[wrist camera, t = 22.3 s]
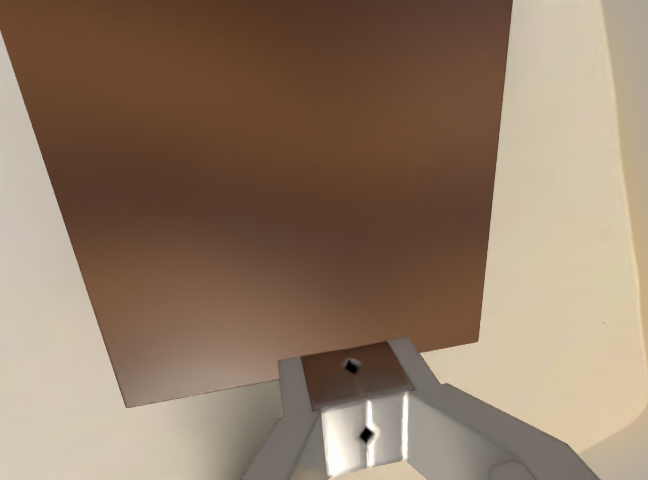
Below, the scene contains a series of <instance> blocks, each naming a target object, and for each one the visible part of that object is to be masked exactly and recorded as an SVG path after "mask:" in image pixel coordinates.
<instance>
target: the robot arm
mask: <svg viewBox="0 0 648 480" xmlns="http://www.w3.org/2000/svg"><path fill="white" fill-rule="evenodd" d="M277 366H278V374H279V382H280V389H281V397H282V405H283V413H284V418H281V419H277V420H276V422H275V424H274V425H273V427H272V429H271V430H270V432H269V434H268V435H267V437H266V439H265V441H264V442H263V444H262V446H261V447H260V449H259V451H258V452H257V454H256V456H255V457H254V459H253V461H252V463H251V464H250V466H249V468H248V469H247V471H246V473H245V474H244V476H243V478H242V480H328V479H329V478H333V477H336V476H340V475H344V474H347V473H351V472H355V471H358V470H362V469H366V468H370V467H375V466H380V465H384V464H389V463H394V462H399V461H403V460H407V462H408V463H409V464H410V465H411V466H412V467H413V468H415V469H416V470H417V471H418V472H419V473H420V474H421V475H423V476H424V477H425V478H426V479H427V480H600V479H599V478H598V477H597V475H596V474H595V473H594V472H593V471H592V470H591V469H590V468H589V467H588V466H587V465H586V464H585V462H584V461H583V460H582V459H581V458H580V457H579V456H578V455H577V454H576V453H575V452H574V451H573V449H572V448H571V447H570V446H569V445H568V444H566V443H564V442H562V441H561V440H559V439H557V438H555V437H553V436H551V435H549V434H547V433H545V432H543V431H541V430H539V429H537V428H535V427H533V426H531V425H529V424H527V423H525V422H523V421H521V420H519V419H517V418H515V417H513V416H511V415H509V414H507V413H505V412H503V411H501V410H499V409H497V408H495V407H493V406H491V405H489V404H487V403H485V402H484V401H482V400H480V399H478V398H476V397H474V396H472V395H470V394H468V393H466V392H464V391H462V390H460V389H458V388H456V387H454V386H452V385H450V384H448V383H446V384H440V382H439V381H438V379H437V378H436V377H435V375H434V374H433V372H432V371H431V369H430V368H429V366H428V365H427V364H426V362H425V361H424V359H423V358H422V356H421V355H420V353H419V352H418V350H417V349H416V348H415V346H414V345H413V343H412V342H411V340H410V339H409V338H408V337H406V336H403V337H398V338H394V339H389V340H385V341H382V342H377V343H372V344H367V345H362V346H357V347H351V348H346V349H339V350H333V351H327V352H321V353H315V354H309V355H303V356H300V357H299V356H298V357H292V358H287V359H281V360H278V361H277Z"/></svg>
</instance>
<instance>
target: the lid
mask: <svg viewBox="0 0 648 480" xmlns="http://www.w3.org/2000/svg"><path fill="white" fill-rule="evenodd" d="M512 3H513V0H0V31H1V34H2V37H3V40H4V43H5V46H6V49H7V52H8V55H9V58H10V61H11V64H12V67H13V70H14V73H15V76H16V79H17V82H18V85H19V88H20V91H21V94H22V97H23V100H24V103H25V106H26V109H27V112H28V115H29V118H30V121H31V124H32V127H33V130H34V133H35V136H36V139H37V142H38V145H39V148H40V151H41V154H42V157H43V160H44V163H45V166H46V169H47V172H48V175H49V178H50V181H51V184H52V187H53V190H54V193H55V196H56V199H57V202H58V205H59V208H60V211H61V214H62V217H63V220H64V223H65V226H66V229H67V232H68V235H69V238H70V241H71V244H72V247H73V250H74V253H75V256H76V259H77V262H78V265H79V268H80V271H81V274H82V277H83V280H84V283H85V286H86V289H87V292H88V295H89V298H90V301H91V304H92V307H93V310H94V313H95V316H96V319H97V322H98V325H99V328H100V331H101V334H102V337H103V340H104V343H105V346H106V349H107V352H108V355H109V358H110V361H111V364H112V367H113V370H114V373H115V376H116V379H117V382H118V385H119V388H120V391H121V394H122V397H123V400H124V403H125V406H126V408H131V407H136V406H141V405H146V404H152V403H157V402H162V401H168V400H173V399H178V398H184V397H189V396H194V395H199V394H205V393H210V392H215V391H221V390H226V389H231V388H237V387H242V386H247V385H252V384H258V383H263V382H268V381H274V380H279V374H278V366H277V361H278V360H281V359H287V358H292V357H298V356H299V357H300V356H303V355H309V354H315V353H321V352H327V351H333V350H339V349H346V348H351V347H357V346H362V345H367V344H372V343H377V342H382V341H385V340H389V339H394V338H398V337H403V336H406V337H408V338H409V339H410V340H411V342H412V343H413V345H414V346H415V348H416V349H417V350H418V352H419V353H422V352H427V351H433V350H438V349H443V348H448V347H454V346H459V345H464V344H470V343H475V342H478V339H479V329H480V319H481V309H482V299H483V289H484V280H485V270H486V260H487V250H488V240H489V230H490V220H491V210H492V200H493V190H494V181H495V171H496V161H497V151H498V141H499V131H500V121H501V111H502V101H503V92H504V82H505V72H506V62H507V52H508V42H509V32H510V22H511V12H512Z"/></svg>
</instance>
